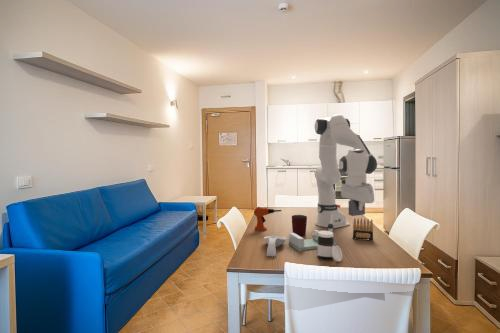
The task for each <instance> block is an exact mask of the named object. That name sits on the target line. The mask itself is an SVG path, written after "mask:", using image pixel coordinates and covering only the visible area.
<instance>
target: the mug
mask: <svg viewBox="0 0 500 333" xmlns="http://www.w3.org/2000/svg"><path fill="white" fill-rule="evenodd" d="M307 222H308V216H307V215H303V214H294V215H292V216H291V229H292V233H295V234H297V235H299V236H300V237H302V238H303V237H306V233H307Z"/></svg>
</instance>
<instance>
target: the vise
mask: <svg viewBox="0 0 500 333" xmlns="http://www.w3.org/2000/svg"><path fill="white" fill-rule="evenodd" d="M288 236H289V239H288V240H289V241H288V245H290V246H291V247H292V248H294V249H296V250H297V252H301V251H308V250H315V249H316V250H317V240H315V239H313V238H306V239H305V238H304V237H303V236H302V237H300V236H299V235H297V234H295V233H293V232H289V234H288ZM334 246H337V242H335V241H334Z"/></svg>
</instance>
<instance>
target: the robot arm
mask: <svg viewBox="0 0 500 333" xmlns="http://www.w3.org/2000/svg"><path fill="white" fill-rule="evenodd" d="M314 131H315V133H316V134H317V135H320V137H319V142H318V143H319V145H318V146H319V147H318V150H319V151H318V158H319V161H320V165H321V166H320V167H318V168H316V169H315V171H314V177H315V180H316V184H317V190H318V191H317V195H318V202H317V215H316V217H317V218H316V221H315V225H316V226H319V227H322V228H323V227H324V228H328V224H333V229H336V228H341V227H347V226H350V225H351V224H350V222H348V221H347V217H346V215H345V213H343V212H341V211H340V210H339V209H340V208H341V207H342V206H341V204H336V191H335V188H334V185H336V184H338V183H339V182H340V184H341V186H340V196H341V197H342V198H344V199H348V200H349V201H353V200H356V201H359V206H358V210H362V207H363V205H364V203H365V204H373V203H374V202H375V193H374V187H373V186H372V183H367V175H370V174H373V173H374V172H375V171H376V169H377V167H378V161H377V159H376V157H375V156H374V155H373V154H372V153H371V151H370V150H369V148H368V147H367V145H366V144H365V142H364V141H363V139H362V137H361V136H360V135H359V134H358V133H355V132H354V131H353V130H352V129H351V122H350V120H349V119H348V118H345V116H344V115H343V114H338V113H337V114H335V115H334V114H333V115H332V116H331V117H326V118H325V117H321V118H319V117H318V119H316V121H315V122H314ZM337 144H338V145H341V146H346V147H351V148H352V149H349V150H348V151H347V154H346V155H343V156H342V157H341V158H340V159H339V160H338V159H337ZM338 161H339V164H338ZM340 171H341V172H342V173H343V174H347V177H346V178H343V179H342V174H341V172H340ZM338 208H339V209H338Z"/></svg>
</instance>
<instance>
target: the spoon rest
mask: <svg viewBox="0 0 500 333" xmlns="http://www.w3.org/2000/svg"><path fill="white" fill-rule="evenodd" d="M286 240H287V238H286V237H285V236H281V235H280V236H279V235H267V236H264V237H263V241H264V242H265V243H266V244H267V249H266V257H277V249H276V248H279V247H280V246H282V245H283V244H284V243H285V242H286Z"/></svg>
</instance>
